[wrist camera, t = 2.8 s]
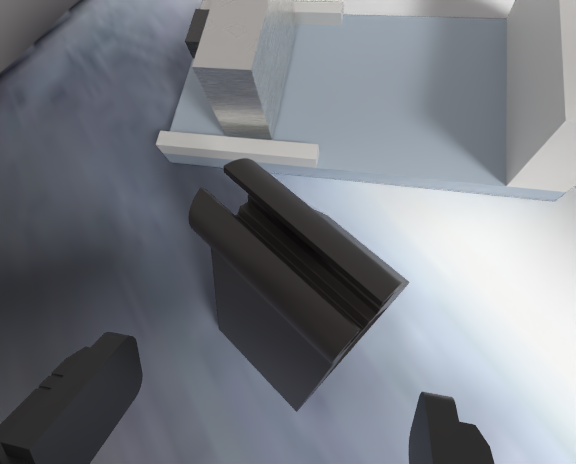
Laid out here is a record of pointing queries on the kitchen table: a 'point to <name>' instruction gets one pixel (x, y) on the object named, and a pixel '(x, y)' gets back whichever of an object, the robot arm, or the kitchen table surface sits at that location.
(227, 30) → the block
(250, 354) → the phone stand
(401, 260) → the kitchen table surface
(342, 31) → the vise body
